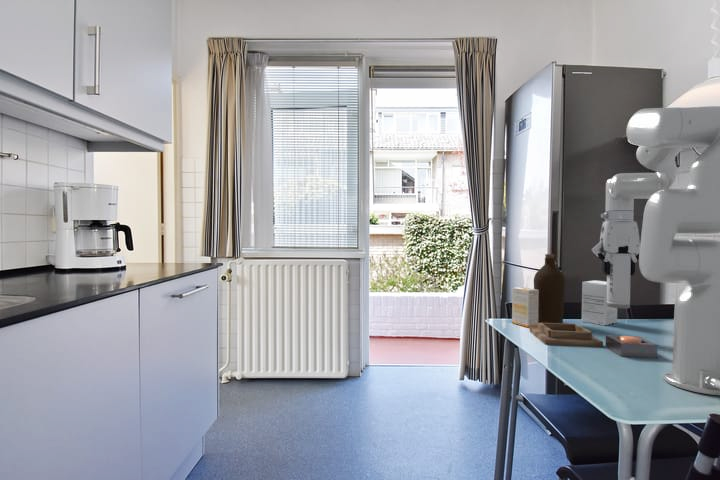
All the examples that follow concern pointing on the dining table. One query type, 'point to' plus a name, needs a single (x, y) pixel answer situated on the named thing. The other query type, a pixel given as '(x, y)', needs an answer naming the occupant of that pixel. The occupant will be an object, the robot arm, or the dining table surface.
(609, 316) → the supplement box
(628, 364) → the dining table surface
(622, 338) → the button
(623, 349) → the button housing
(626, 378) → the dining table surface
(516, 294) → the supplement box
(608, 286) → the travel mug
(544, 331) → the tan flat square tray
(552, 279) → the olive oil
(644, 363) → the dining table surface
